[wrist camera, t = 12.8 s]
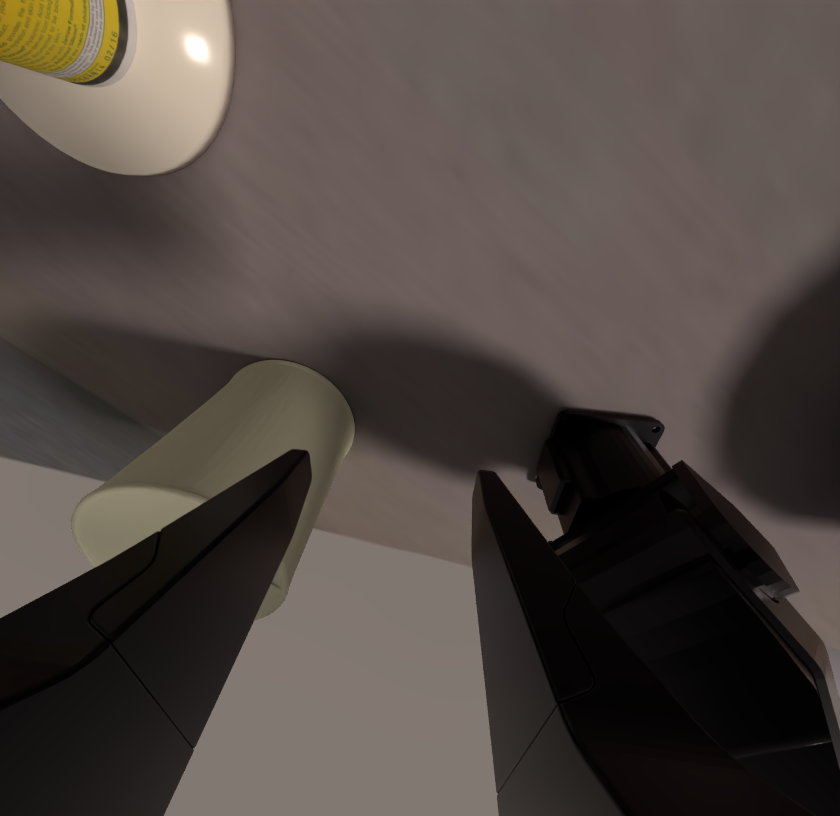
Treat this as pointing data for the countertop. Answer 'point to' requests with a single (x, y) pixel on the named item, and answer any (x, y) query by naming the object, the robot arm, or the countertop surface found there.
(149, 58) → the coaster
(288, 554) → the can
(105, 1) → the supplement bottle
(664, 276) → the countertop surface
